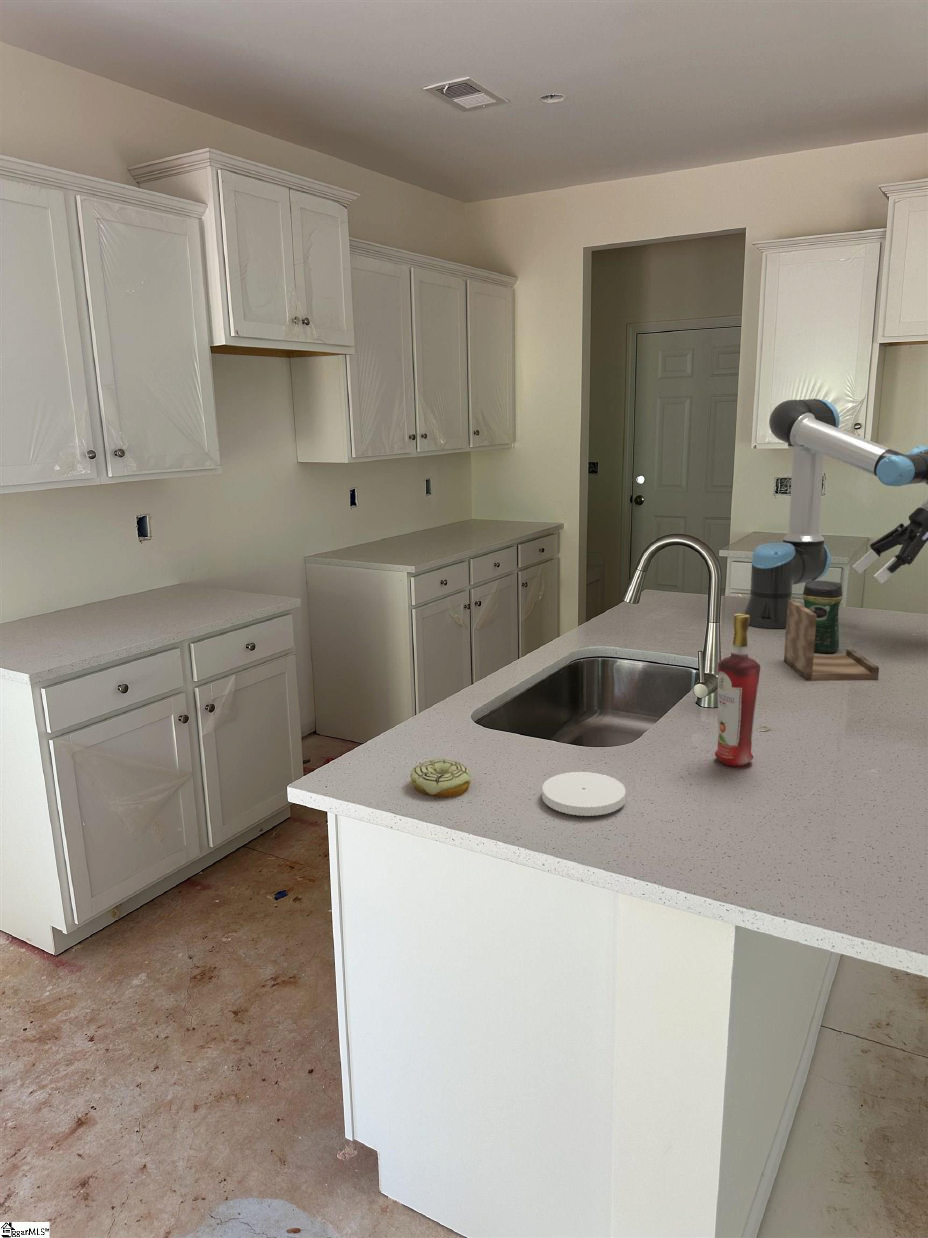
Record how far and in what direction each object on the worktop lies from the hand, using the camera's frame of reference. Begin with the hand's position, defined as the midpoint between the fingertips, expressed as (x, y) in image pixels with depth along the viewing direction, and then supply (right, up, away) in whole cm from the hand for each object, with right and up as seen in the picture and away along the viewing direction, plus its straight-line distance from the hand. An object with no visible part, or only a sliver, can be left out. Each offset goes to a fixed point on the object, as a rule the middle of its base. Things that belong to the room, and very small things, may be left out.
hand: (866, 575), depth 228 cm
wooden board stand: (-15, -24, -12) cm, 31 cm away
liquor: (-55, -38, -66) cm, 94 cm away
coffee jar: (-10, -20, +5) cm, 23 cm away
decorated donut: (-109, -41, -73) cm, 138 cm away
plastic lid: (-85, -43, -80) cm, 124 cm away
